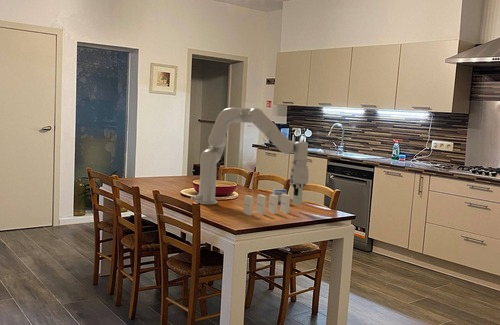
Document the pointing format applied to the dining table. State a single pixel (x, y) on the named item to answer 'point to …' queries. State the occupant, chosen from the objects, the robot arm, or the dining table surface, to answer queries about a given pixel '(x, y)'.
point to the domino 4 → (285, 203)
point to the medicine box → (279, 193)
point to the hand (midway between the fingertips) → (297, 195)
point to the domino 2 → (261, 204)
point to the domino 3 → (273, 204)
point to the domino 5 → (298, 197)
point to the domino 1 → (248, 204)
